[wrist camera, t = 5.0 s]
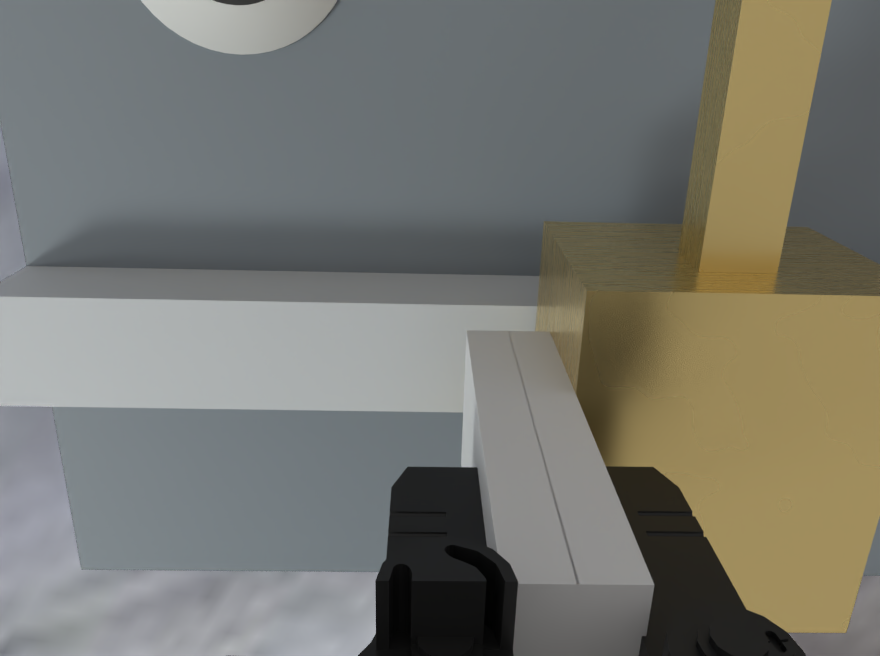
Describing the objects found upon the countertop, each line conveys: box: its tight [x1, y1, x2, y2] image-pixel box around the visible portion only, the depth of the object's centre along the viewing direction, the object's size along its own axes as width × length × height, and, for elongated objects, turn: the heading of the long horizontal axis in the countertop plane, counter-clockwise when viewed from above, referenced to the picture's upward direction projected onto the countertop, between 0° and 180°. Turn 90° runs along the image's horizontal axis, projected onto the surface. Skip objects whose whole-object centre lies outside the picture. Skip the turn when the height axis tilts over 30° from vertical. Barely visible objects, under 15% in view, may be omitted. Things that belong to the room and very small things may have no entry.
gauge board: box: [0, 0, 880, 576], centre depth 14 cm, size 26×18×9 cm
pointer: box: [535, 0, 880, 633], centre depth 13 cm, size 5×12×6 cm, turn 178°
